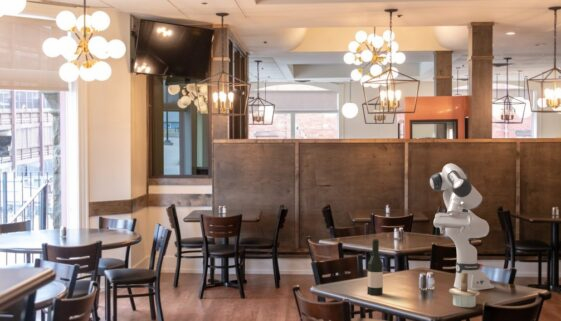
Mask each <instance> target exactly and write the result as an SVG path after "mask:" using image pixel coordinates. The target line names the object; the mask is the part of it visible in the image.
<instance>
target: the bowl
mask: <svg viewBox="0 0 561 321" xmlns="http://www.w3.org/2000/svg"><path fill="white" fill-rule="evenodd" d="M476 298H477V296H458V295H453V294H452V305H453V306H455V307H459V308H460V307H461V308H474V307H476V306H477V305H476V303H477V301H476V300H477V299H476Z"/></svg>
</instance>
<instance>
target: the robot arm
mask: <svg viewBox="0 0 561 321" xmlns="http://www.w3.org/2000/svg"><path fill="white" fill-rule="evenodd" d="M429 186H430V187H431V189H432V190H433V191H435V192H441V191H443V193H442V198H443V202H444V205H445V208H446V212H442V211H441V212H436V213H435V215H434V219H433V226H434V227H435V228H439V231H440V232H439V233H440V234H442V235H443V234H444V232H445V233H446V235H447V237H449V238H450V239H451V240H452V241H453V243H454V245H455V249H456V262H455V278H454V284H453V288H461V273H468V288H469V289H475V290H478V291H482V290H488V289H494V288H495V286H494V285H493V284H491V281H490V277H489V275H487V274H486V273H485V272H484V271H482V270H481V269H480V268H483V267H484V264H483V263H478V250H477V248H476V247H475V246H474V245H472V244H471V243H470V241H469V239H480V238H483V237H486V236H488V234H489V232H490V226H489V223H488V221H487V220H485V219H483V218H480V216H477V215H476V214H475V213H474V212H473V211H471V210H476V209H478V208H479V207H480V206H481V204H482V202H483V195H481V193H480V192H479V191H478V190H477V189H476V188H475V187H474V186H473V185H472V183H471V182H470V181H469V180H468V174H467V172H466V171H465V169H463V168H460V166H458V165H457V164H455V163H452V162H450V163H447V164H445V165H444V166H443V168H442V170H441V172H440V171H439V172H437V173H434V174H432V175H431V176H430V178H429ZM444 229H445V231H444Z"/></svg>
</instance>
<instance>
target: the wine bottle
mask: <svg viewBox="0 0 561 321" xmlns="http://www.w3.org/2000/svg"><path fill="white" fill-rule="evenodd" d="M379 242H380V241H379V238H373V239H372V246H371V247H372V250H371V251H372V253H371V254H372V256H371V257H370V258H369V260H368V262H367V290H366V291H367V295H369V296H374V295H375V296H382V295H383V289H384V288H383V287H384V285H383V284H384V282H383V280H384V279H383V278H384V274H383V273H384V263H383V261H382V260H381V257H380V255H379V254H380V253H379V252H380V250H379V248H380V247H379V244H380V243H379ZM375 296H374V297H375Z"/></svg>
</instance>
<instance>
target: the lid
mask: <svg viewBox="0 0 561 321" xmlns="http://www.w3.org/2000/svg"><path fill="white" fill-rule="evenodd" d="M448 293H449V294H450V295H452V296H453V295H458V296H476V297H477V296H479V295H481V294H480V290H475V289H469V288H468V273H461V288H456V287H453V288H449V290H448Z"/></svg>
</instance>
